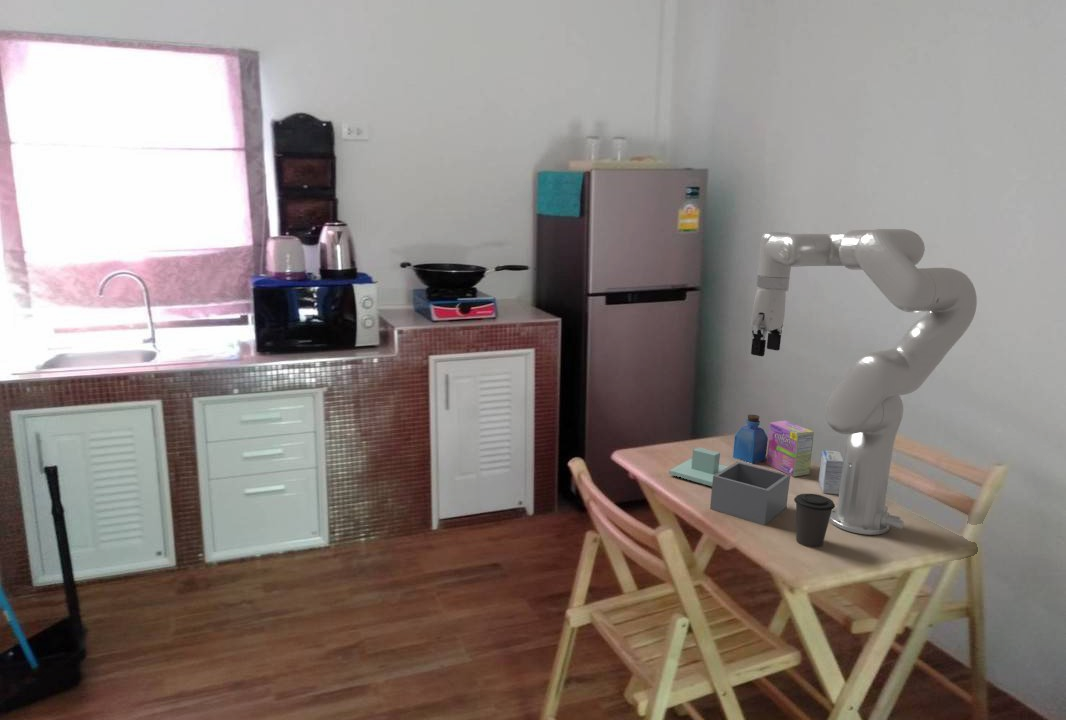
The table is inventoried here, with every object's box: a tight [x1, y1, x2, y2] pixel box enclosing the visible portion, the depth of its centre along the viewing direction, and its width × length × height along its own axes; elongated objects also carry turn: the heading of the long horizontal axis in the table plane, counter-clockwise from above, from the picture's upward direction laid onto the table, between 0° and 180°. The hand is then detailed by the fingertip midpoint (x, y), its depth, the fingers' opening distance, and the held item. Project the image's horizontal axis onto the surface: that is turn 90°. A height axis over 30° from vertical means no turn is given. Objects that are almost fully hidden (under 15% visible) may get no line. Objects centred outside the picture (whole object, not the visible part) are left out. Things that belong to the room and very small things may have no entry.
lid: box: [668, 446, 729, 488], centre depth 206 cm, size 13×13×7 cm
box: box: [766, 419, 815, 478], centre depth 213 cm, size 10×6×12 cm, turn 25°
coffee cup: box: [793, 493, 836, 548], centre depth 170 cm, size 8×8×10 cm
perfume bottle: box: [732, 414, 769, 464], centre depth 220 cm, size 6×6×12 cm
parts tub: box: [709, 461, 791, 526], centre depth 187 cm, size 13×13×8 cm
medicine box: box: [818, 450, 844, 496], centre depth 201 cm, size 8×4×9 cm, turn 168°
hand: (765, 352), depth 202 cm, fingers open, 9 cm apart
